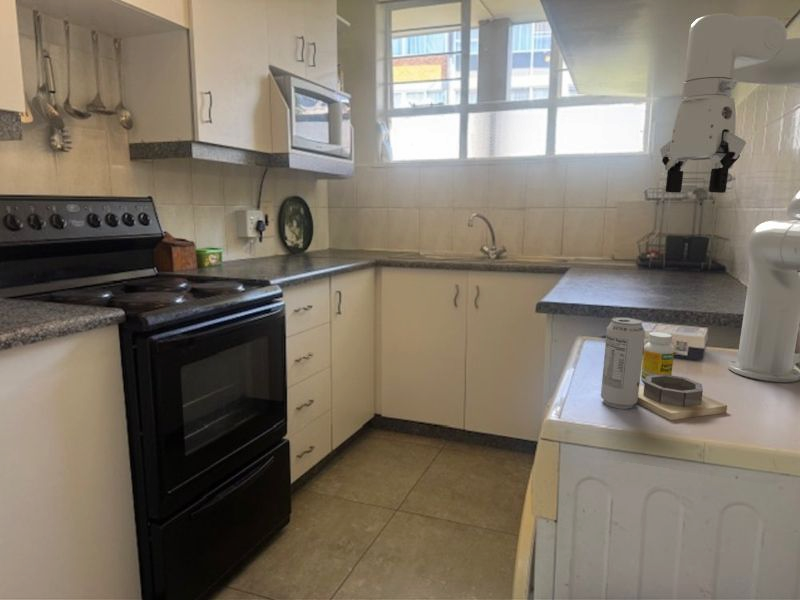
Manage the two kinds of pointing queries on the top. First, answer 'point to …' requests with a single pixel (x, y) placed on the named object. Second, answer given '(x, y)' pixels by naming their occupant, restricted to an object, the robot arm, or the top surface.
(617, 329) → the energy drink can
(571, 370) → the top surface
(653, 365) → the supplement bottle
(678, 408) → the collar
